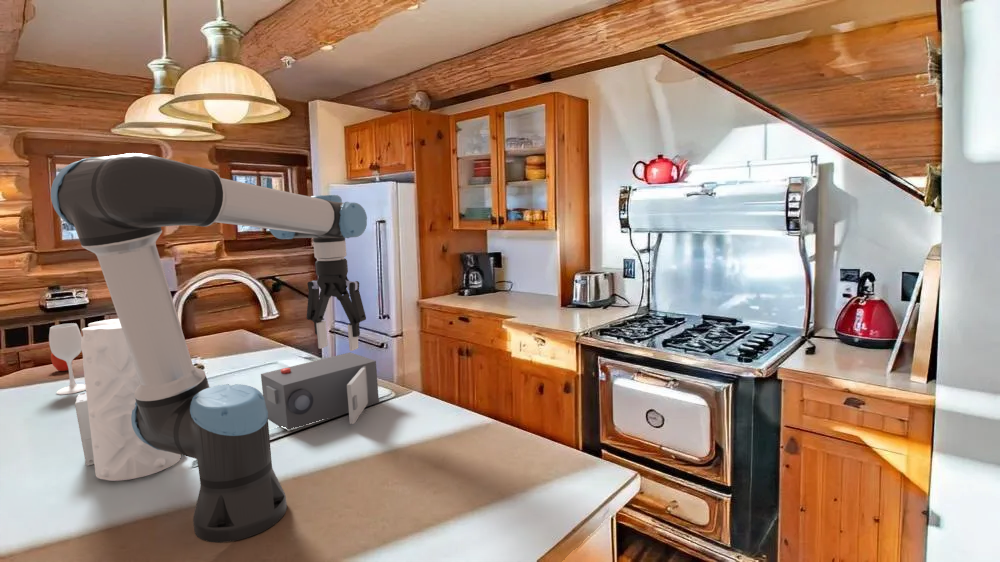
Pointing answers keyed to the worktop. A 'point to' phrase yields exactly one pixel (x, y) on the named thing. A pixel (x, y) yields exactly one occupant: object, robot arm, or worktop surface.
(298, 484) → the worktop surface
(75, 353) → the wineglass
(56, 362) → the apple
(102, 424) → the vase
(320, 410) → the camera body
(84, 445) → the skincare box
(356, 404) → the side door
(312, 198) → the robot arm
